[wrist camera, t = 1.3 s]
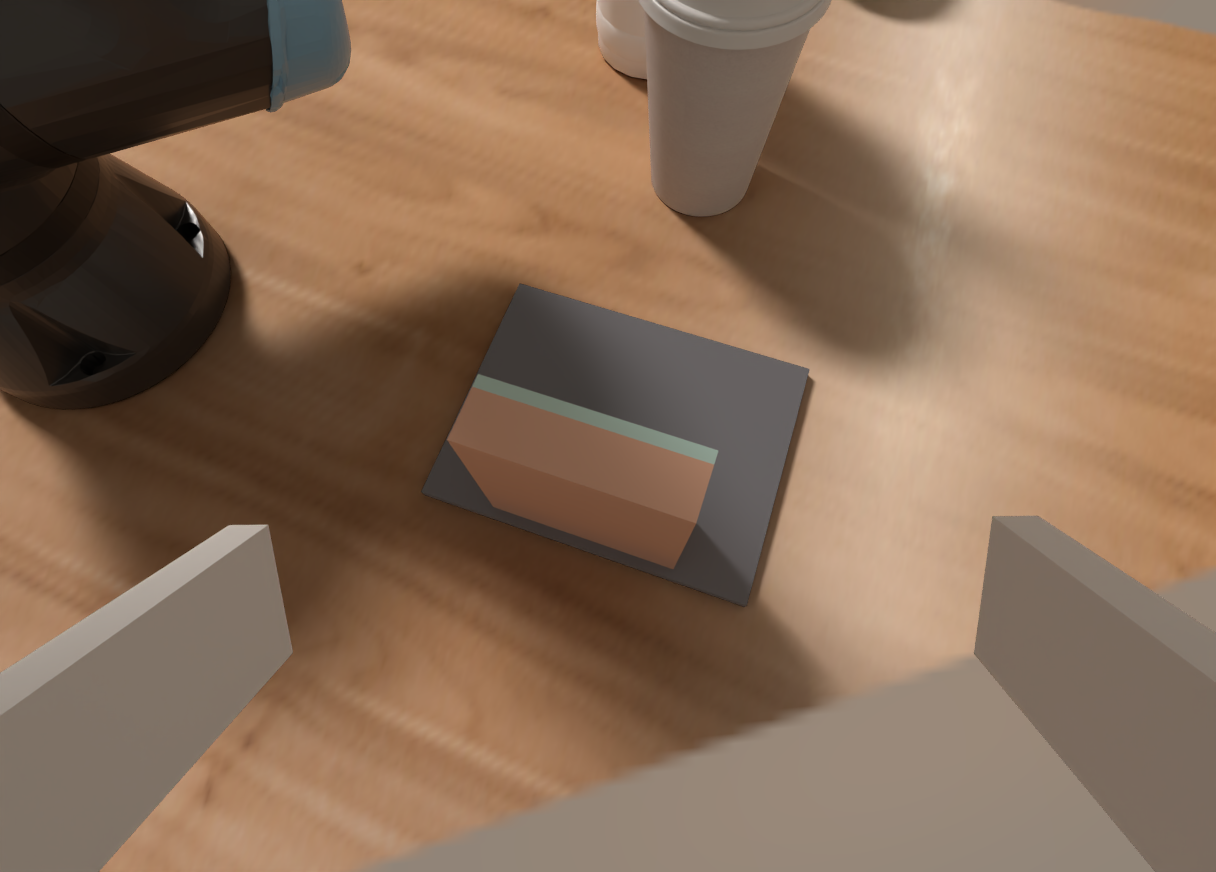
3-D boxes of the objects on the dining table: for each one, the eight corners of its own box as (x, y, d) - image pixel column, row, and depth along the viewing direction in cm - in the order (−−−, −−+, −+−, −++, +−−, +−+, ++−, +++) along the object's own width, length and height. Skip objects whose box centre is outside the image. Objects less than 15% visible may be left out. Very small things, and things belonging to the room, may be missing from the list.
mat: (424, 494, 35) (421, 491, 34) (521, 289, 40) (519, 283, 39) (744, 606, 33) (746, 605, 32) (806, 373, 37) (809, 369, 37)
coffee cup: (784, 230, 41) (871, -5, 27) (636, 242, 41) (647, 11, 27) (758, 118, 44) (823, -141, 31) (621, 129, 44) (624, -127, 30)
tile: (493, 506, 34) (447, 439, 25) (514, 456, 35) (478, 374, 26) (673, 569, 33) (696, 523, 23) (690, 515, 34) (718, 450, 24)
